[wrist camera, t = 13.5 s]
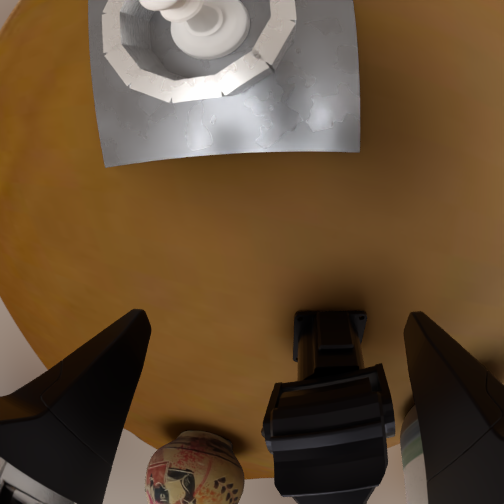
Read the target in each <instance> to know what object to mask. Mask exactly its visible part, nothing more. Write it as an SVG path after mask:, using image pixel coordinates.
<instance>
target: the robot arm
mask: <svg viewBox="0 0 504 504" xmlns="http://www.w3.org/2000/svg"><path fill="white" fill-rule="evenodd" d="M360 316H362V317H360ZM298 317H302V318H298ZM366 321H367V314H366V312H365V311H325V312H297V313H296V314H295V316H294V346H293V360H294V361H295V362H298V381H295V382H288V383H282V382H280V383H275V385H274V389H273V391H272V394H271V397H270V400H269V404H268V407H267V410H266V414H265V417H264V420H263V428H262V430H261V433H262V436H263V437H264V438H265V441H266V445H267V448H268V450H269V452H270V453H271V454H273V458H274V481H275V482H274V483H275V487H276V488H277V490H278V491H279V493H280V494H281V496H283V497H293V499H294V500H295V501H296V502H297V503H298V504H367V501H368V499H369V497H370V495H371V494H372V492H373V491H374V489H375V487H377V486H379V484H380V483H381V481H382V478H383V476H384V474H385V471H386V468H387V465H388V456H387V443H386V438H389V437H393V436H395V419H394V410H393V404H392V399H391V394H390V390H389V387H388V383H387V379H386V376H385V372H384V369H383V365H382V363H380V364H376V365H375V366H372V367H368V368H365V367H364V361H363V356H362V350H361V342H362V338H363V333H364V329H365V325H366ZM150 335H151V325H150V322H149V320H148V317H147V315H146V312H145V311H144V310H142V309H133V310H131V311H130V312H128V313H127V314H125V315H124V316H123V317H121V318H120V319H118V320H117V321H115V322H114V323H113V324H111V325H110V326H108V327H107V328H106V329H104V330H103V331H102V332H100V333H99V334H97V335H96V336H95V337H93V338H92V339H90V340H89V341H88V342H86V343H85V344H84V345H82V346H81V347H79V348H78V349H77V350H75V351H74V352H73V353H71V354H70V355H68V356H67V357H66V358H64V359H63V361H60V362H59V363H57V364H56V365H55V366H53V367H52V368H51V369H49V370H48V371H46V372H45V373H43V374H42V375H40V376H39V377H37V378H36V379H34V380H32V381H31V382H29V383H28V384H26V385H24V386H23V387H21V388H19V389H18V390H16V391H15V392H13V393H11V394H9V395H6V396H2V397H0V504H75V503H77V504H102V503H103V499H104V495H105V491H106V487H107V484H108V480H109V476H110V472H111V469H112V465H113V461H114V457H115V454H116V450H117V447H118V444H119V440H120V437H121V433H122V430H123V427H124V424H125V421H126V417H127V414H128V411H129V408H130V405H131V402H132V399H133V396H134V393H135V390H136V387H137V384H138V381H139V378H140V375H141V372H142V369H143V365H144V361H145V357H146V352H147V348H148V344H149V339H150ZM404 341H405V348H406V355H407V363H408V371H409V377H410V382H411V387H412V391H413V396H414V401H415V406H416V411H417V417H418V423H419V428H420V435H421V441H422V448H423V455H424V463H425V472H426V481H427V482H426V483H427V495H428V504H504V385H503V384H502V383H501V382H500V381H498V380H497V379H496V378H495V377H494V376H493V375H492V374H491V373H490V372H489V371H487V369H486V368H485V367H484V366H483V365H481V364H480V363H479V362H478V361H477V360H476V359H475V358H474V357H473V356H472V355H471V354H470V353H469V352H467V351H466V350H465V349H464V348H463V347H462V346H461V345H460V344H459V343H458V342H456V341H455V340H454V339H453V338H452V337H451V336H450V335H449V334H447V333H446V332H445V331H444V330H443V329H442V328H441V327H440V326H438V325H437V324H436V323H435V322H434V321H433V320H431V319H430V318H429V317H428V316H427V315H426V314H424V313H423V312H421V311H417V312H411V313H410V314H409V317H408V320H407V323H406V326H405V329H404ZM297 357H298V358H297Z"/></svg>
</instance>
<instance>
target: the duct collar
mask: <svg viewBox="0 0 504 504" xmlns="http://www.w3.org/2000/svg"><path fill="white" fill-rule="evenodd" d="M239 1H241V2H242V3H243V4H244V6H245V7H246V9H247V11H248V13H249V17H250V28H249V32H248V34H247V36H246V38H245V40H244V41H243V43H242V44H241V45H240V46H239V47H238V48H237V49H236V50H234V51H233V52H232V53H230V54H228V55H226V56H223V57H221V58H217V59H210V60H203V59H197V58H194V57H191V56H189V55H187V54H186V53H184V52H183V51H182V50H181V49H180V48H179V47H178V46H177V45H176V44H175V42H174V40H173V38H172V35H171V22H170V21H168V20H166V19H165V18H164V17H163V16H162V15H161V13H160V11H153V10H148V9H146V8H145V7H143V6H142V5H141V3H140V2H139V0H88V20H89V47H90V62H91V74H92V84H93V94H94V102H95V110H96V117H97V124H98V130H99V136H100V142H101V148H102V153H103V159H104V164H105V168H106V167H113V166H119V165H126V164H133V163H140V162H147V161H155V160H164V159H173V158H182V157H193V156H204V155H217V154H233V153H252V152H284V151H330V152H360V84H359V62H358V46H357V34H356V23H355V13H354V5H353V0H239Z"/></svg>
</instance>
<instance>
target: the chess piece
mask: <svg viewBox="0 0 504 504" xmlns="http://www.w3.org/2000/svg"><path fill="white" fill-rule="evenodd" d="M139 2H140V3H141V5H142V6H143V7H145V8H146V9H148V10H153V11H160V13H161V15H162V16H163V17H164V18H165V19H166V20H168V21H170V22H171V35H172V38H173V40H174V42H175V44H176V45H177V46H178V47H179V48H180V49H181V50H182V51H183V52H184V53H186V54H187V55H189V56H191V57H194V58H197V59H203V60H210V59H217V58H221V57H223V56H226V55H228V54H230V53H232V52H233V51H234V50H236V49H237V48H238V47H239V46H240V45H241V44H242V43H243V41H244V40H245V38H246V36H247V34H248V32H249V28H250V17H249V13H248V11H247V9H246V7H245V6H244V4H243V3H242V2H241V1H239V0H139Z"/></svg>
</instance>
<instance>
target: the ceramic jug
mask: <svg viewBox="0 0 504 504" xmlns="http://www.w3.org/2000/svg"><path fill="white" fill-rule="evenodd" d="M232 448H233V445H232V443H231V441H230V440H226V439H224V438H222V437H220V436H218V435H216V434H212V433H209V432H204V431H191V430H190V431H185V432H182V433H181V434H180V435H179V436H178V437H177V439H175V440H174V441H172V442H170V443H168V444H166V445H164V446H162V447H161V448H160V449H158V450H157V451H156V452H155V453H154V454H153V456H152V457H151V459H150V462H149V464H148V467H147V472H146V479H145V492H146V496H147V500H148V504H238V502H239V500H240V498H241V495H242V493H243V489H244V473H243V470H242V467H241V465H240V463H239V462H238V460H237V458H236V457H235V455H234V453H233V451H232Z"/></svg>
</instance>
